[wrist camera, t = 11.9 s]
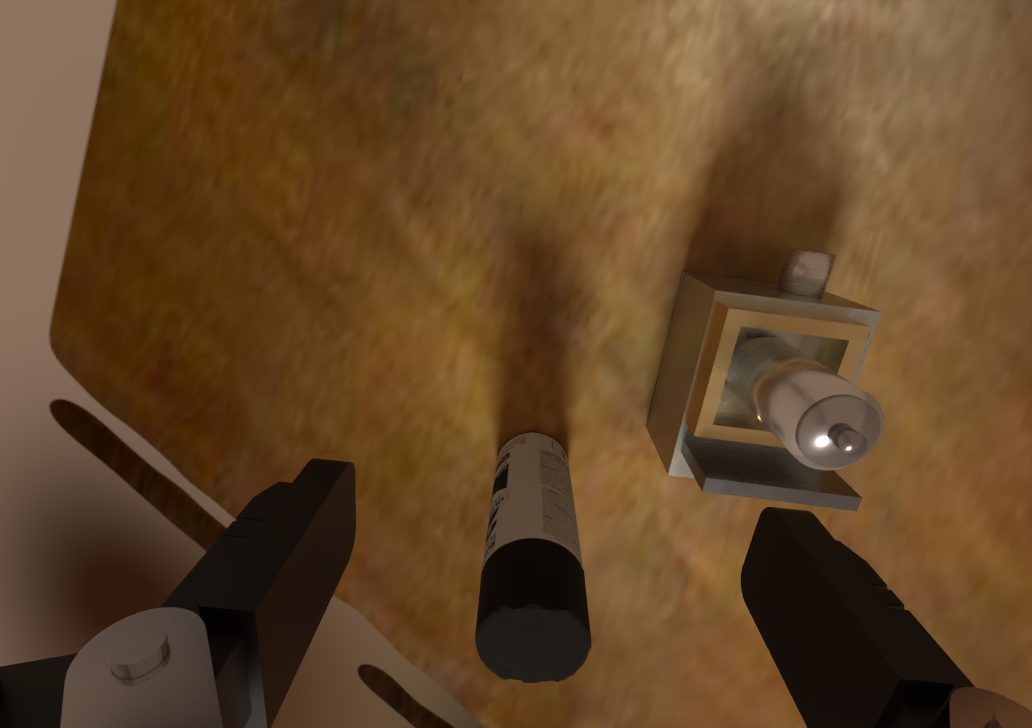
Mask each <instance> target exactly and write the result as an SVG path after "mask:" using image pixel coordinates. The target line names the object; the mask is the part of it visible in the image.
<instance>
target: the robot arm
mask: <svg viewBox="0 0 1032 728" xmlns="http://www.w3.org/2000/svg"><path fill="white" fill-rule="evenodd" d="M355 532H356V499H355V467H354V464H353V463H352V462H344V461H334V460H325V459H315V458H313V459H311V460H310V461H309V462H308V463H307V465H306V466H305V467H304V468H303V470H302V471H301V472H300V474H299V475H298V476H297V478H296V479H295V480H294V482H293V483H287V482H278V483H276V484H274V485H273V486H271V487H270V488H268V489H266V490H265V491H263V492H261V493H260V494H258V495H257V496H255V497H253V499H252V500H251V501H250V502H249V503H248V505H247V506H246V507H245V508H244V509H243V510H242V512H241V513H240V514H239V515H238V516H237V519H236V521H233V522H232V523H231V524H230V526H229V527H228V528H227V529H226V530H225V531H224V533H223V534H222V538H221V539H218V540H217V541H216V542H215V543H214V544H213V546H212V547H211V548H210V549H209V550H208V551H207V553H206V554H205V555H204V556H203V557H202V558H201V560H200V561H199V562H198V563H197V564H196V566H195V567H194V568H193V569H192V570H191V571H190V573H189V574H188V575H187V576H186V577H185V578H184V580H183V581H182V582H181V583H180V584H179V585H178V587H177V588H176V589H175V590H174V592H172V594H171V595H170V596H169V597H168V598H167V599H166V601H165V602H164V603H163V604H162V605H161V607H160V608H156V609H151V610H147V611H143V612H140V613H137V614H135V615H132V616H129V617H127V618H125V619H122V620H120V621H118V622H117V623H115V624H113V625H111V626H110V627H108V628H107V629H105V630H103V631H102V632H101V633H99V634H98V635H96V636H95V637H94V638H93V639H92V640H91V641H90V642H88V643H87V644H86V645H85V646H84V647H83V648H82V649H81V651H80V652H79V653H76V654H71V655H67V656H60V657H55V658H49V659H43V660H37V661H31V662H26V663H19V664H14V665H8V666H2V667H0V728H271V726H272V724H273V722H274V720H275V718H276V715H277V713H278V711H279V709H280V707H281V705H282V703H283V700H284V698H285V696H286V694H287V692H288V690H289V688H290V685H291V683H292V681H293V679H294V677H295V675H296V673H297V670H298V668H299V666H300V664H301V662H302V660H303V657H304V656H305V653H306V651H307V649H308V647H309V645H310V643H311V641H312V638H313V636H314V634H315V632H316V630H317V628H318V626H319V623H320V621H321V619H322V617H323V615H324V613H325V611H326V608H327V606H328V604H329V602H330V599H331V598H332V596H333V594H334V591H335V589H336V587H337V585H338V583H339V581H340V579H341V576H342V574H343V572H344V570H345V568H346V566H347V564H348V561H349V559H350V556H351V553H352V549H353V545H354V540H355ZM741 589H742V594H743V598H744V601H745V603H746V606H747V608H748V610H749V612H750V614H751V616H752V618H753V620H754V622H755V624H756V626H757V628H758V630H759V632H760V634H761V636H762V638H763V640H764V642H765V644H766V646H767V648H768V650H769V652H770V654H771V656H772V658H773V660H774V662H775V664H776V666H777V668H778V670H779V672H780V674H781V676H782V678H783V680H784V682H785V684H786V686H787V688H788V690H789V692H790V694H791V696H792V698H793V700H794V702H795V704H796V706H797V708H798V710H799V712H800V714H801V716H802V718H803V720H804V722H805V724H806V726H807V728H1032V711H1030V710H1029V709H1027V708H1026V707H1024V706H1022V705H1020V704H1019V703H1017V702H1015V701H1013V700H1011V699H1009V698H1007V697H1005V696H1002V695H1000V694H997V693H995V692H992V691H989V690H985V689H981V688H976V687H975V686H974V685H973V684H972V683H971V682H970V681H969V679H968V678H967V677H966V676H965V675H964V674H963V672H962V671H961V670H960V669H959V668H958V667H957V665H956V664H955V663H954V662H953V661H952V660H951V659H950V657H949V656H948V655H947V654H946V653H945V652H944V650H943V649H942V648H941V647H940V646H939V645H938V644H937V642H936V641H935V640H934V639H933V638H932V637H931V635H930V634H929V633H928V632H927V631H926V630H925V629H924V627H923V626H922V625H921V624H920V623H919V622H918V620H917V619H916V618H915V617H914V616H913V615H912V614H911V612H910V611H909V610H905V609H904V604H903V603H902V602H901V601H900V600H899V598H898V597H897V596H896V595H895V594H894V593H893V592H892V590H888V589H887V585H886V583H885V582H884V581H883V580H882V579H881V578H880V577H879V575H878V574H877V573H876V572H875V571H874V570H873V568H872V567H871V566H870V565H869V564H868V563H867V562H866V561H865V560H864V559H862V558H861V557H860V556H858V555H857V554H856V553H854V552H853V551H852V550H850V549H849V548H848V547H846V546H845V545H844V544H842V543H841V542H840V541H836V540H835V539H834V538H833V537H832V536H831V534H830V533H829V532H828V531H827V530H826V528H825V527H824V526H823V525H822V524H821V522H820V521H819V520H818V519H817V518H816V516H815V515H814V514H813V513H811V512H809V511H804V510H795V509H785V508H775V507H767V508H765V509H764V510H763V511H762V513H761V514H760V517H759V519H758V522H757V525H756V528H755V531H754V534H753V537H752V540H751V543H750V546H749V549H748V552H747V555H746V558H745V561H744V564H743V567H742V572H741Z"/></svg>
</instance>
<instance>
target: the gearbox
mask: <svg viewBox="0 0 1032 728" xmlns="http://www.w3.org/2000/svg"><path fill="white" fill-rule="evenodd" d="M835 258H836V255H834V254H830V253H824V252H818V251H812V250H805V249H797V248H789V251H788V254H787V257H786V261H785V264H784V267H783V271H782V274H781V277H780V281H779V284H777V283H770V282H762V281H754V280H747V279H739V278H731V277H724V276H716V275H708V274H701V273H693V272H685V271H682V275H681V279H680V284H679V288H678V292H677V296H676V301H675V305H674V309H673V313H672V318H671V322H670V326H669V331H668V335H667V339H666V343H665V348H664V352H663V356H662V360H661V365H660V369H659V373H658V378H657V382H656V386H655V390H654V395H653V399H652V403H651V407H650V412H649V416H648V420H647V425H646V428H647V430H648V432H649V434H650V437H651V439H652V441H653V443H654V445H655V448H656V450H657V452H658V454H659V456H660V459H661V461H662V463H663V465H664V467H665V469H666V472H667V474H668V475H672V476H680V477H687V478H695V479H696V481H697V483H698V485H699V487H700V488H701V490H702V491H704V492H711V493H719V494H727V495H735V496H743V497H750V498H758V499H766V500H774V501H782V502H790V503H797V504H805V505H813V506H821V507H829V508H836V509H844V510H852V511H857V509H858V507H859V504H860V502H861V500H862V497H861V496H860V495H859V494H858V493H857V492H856V491H854V490H853V489H852V488H851V487H850V486H849V485H848V484H847V483H846V482H845V481H844V480H843V479H842V478H841V477H840V476H839V475H838V474H837V473H836V472H835V471H834V470H818V469H813V468H810V467H808V466H806V465H804V464H802V463H801V462H799V461H798V460H797V459H796V458H795V457H794V456H793V455H792V454H791V453H790V452H789V451H788V450H787V448H786V447H785V446H784V445H783V444H782V443H781V442H780V441H779V440H778V439H777V438H776V437H775V436H774V435H773V434H772V433H771V432H770V431H769V430H768V429H767V428H766V426H765V425H764V424H763V423H762V422H761V421H760V420H759V419H758V418H757V417H756V416H755V415H754V414H753V413H752V412H751V411H750V410H749V409H748V408H747V407H746V405H745V404H744V403H743V402H742V401H741V400H740V399H739V398H738V397H737V396H736V395H735V394H734V393H733V392H732V390H731V389H730V387H729V385H728V383H727V379H726V376H727V373H728V369H729V365H730V362H731V358H732V355H733V353H734V352H735V351H736V350H737V349H738V348H739V347H740V346H742V345H743V344H744V343H746V342H748V341H750V340H752V339H755V338H759V337H775V338H779V339H781V340H783V341H785V342H787V343H788V344H790V345H792V346H793V347H795V348H797V349H798V350H800V351H801V352H803V353H805V354H806V355H808V356H809V357H811V358H813V359H814V360H816V361H817V362H819V363H821V364H822V365H824V366H825V367H827V368H829V369H830V370H832V371H833V372H835V373H837V374H838V375H840V376H841V377H843V378H845V379H846V380H848V381H849V382H851V383H853V384H854V385H855V383H856V381H857V378H858V375H859V373H860V370H861V367H862V365H863V362H864V359H865V357H866V354H867V351H868V349H869V346H870V344H871V341H872V338H873V336H874V333H875V330H876V328H877V325H878V322H879V320H880V317H881V314H882V312H881V311H878V310H875V309H872V308H870V307H867V306H864V305H861V304H858V303H856V302H853V301H850V300H847V299H845V298H842V297H839V296H836V295H834V294H831V293H828V292H825V288H826V285H827V282H828V279H829V276H830V273H831V270H832V267H833V264H834V261H835Z"/></svg>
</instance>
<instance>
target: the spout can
mask: <svg viewBox="0 0 1032 728" xmlns="http://www.w3.org/2000/svg"><path fill="white" fill-rule="evenodd" d="M726 379H727V383H728V385H729V387H730V389H731V390H732V392H733V393H734V394H735V395H736V396H737V397H738V398H739V399H740V400H741V401H742V402H743V403H744V404H745V405H746V407H747V408H748V409H749V410H750V411H751V412H752V413H753V414H754V415H755V416H756V417H757V418H758V419H759V420H760V421H761V422H762V423H763V424H764V425H765V426H766V428H767V429H768V430H769V431H770V432H771V433H772V434H773V435H774V436H775V437H776V438H777V439H778V440H779V441H780V442H781V443H782V444H783V445H784V446H785V447H786V448H787V450H788V451H789V452H790V453H791V454H792V455H793V456H794V457H795V458H796V459H797V460H798V461H799V462H801V463H802V464H804V465H806V466H808V467H810V468H813V469H818V470H836V469H841V468H845V467H847V466H850V465H852V464H854V463H856V462H858V461H859V460H861V459H863V458H864V457H865V456H866V455H867V454H868V453H870V452H871V451H872V449H873V448H874V447H875V446H876V444H877V442H878V441H879V439H880V437H881V434H882V431H883V426H884V416H883V411H882V408H881V407H880V405H879V403H878V402H877V400H876V399H875V398H874V397H873V396H871V395H870V394H869V393H867V392H865V391H864V390H862V389H861V388H859V387H857V386H856V385H854V384H853V383H851V382H849V381H848V380H846V379H845V378H843V377H841V376H840V375H838V374H837V373H835V372H833V371H832V370H830V369H829V368H827V367H825V366H824V365H822V364H821V363H819V362H817V361H816V360H814V359H813V358H811V357H809V356H808V355H806V354H805V353H803V352H801V351H800V350H798V349H797V348H795V347H793V346H792V345H790V344H788V343H787V342H785V341H783V340H781V339H779V338H775V337H759V338H755V339H752V340H750V341H748V342H746V343H744V344H743V345H742V346H740V347H739V348H738V349H737V350H736V351H735V352H734V353H733V355H732V358H731V362H730V365H729V369H728V373H727V376H726Z"/></svg>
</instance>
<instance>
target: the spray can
mask: <svg viewBox="0 0 1032 728" xmlns="http://www.w3.org/2000/svg"><path fill="white" fill-rule="evenodd" d="M475 642H476V647H477V651H478V654H479V656H480V658H481V660H482V661H483V663H484V664H485V666H486V667H487V668H488V669H490V670H491V671H492V672H493V673H495V674H496V675H497V676H498V677H500V678H502V679H505V680H506V679H514V680H521V681H523V682H524V683H538V682H543V681H556V682H559V681H561V680H565V679H566V678H568V677H570V676H572V675H574V674H575V673H576V671H577V670H578V669H579V668H580V667H581V666H582V665H583V663H584V662H585V660H586V658H587V656H588V653H589V650H590V648H591V633H590V625H589V615H588V607H587V596H586V588H585V577H584V570H583V566H582V559H581V551H580V544H579V536H578V528H577V522H576V514H575V507H574V500H573V492H572V485H571V478H570V471H569V463H568V458H567V455H566V453H565V451H564V449H563V448H562V447H561V445H560V444H559V442H557V441H556V440H554V439H552V438H551V437H549V436H547V435H544V434H540V433H535V432H530V433H524V434H521V435H518V436H516V437H514V438H512V439H511V440H509V441H508V442H507V443H506V444H505V445H504V447H503V448H502V449H501V451H500V453H499V455H498V458H497V463H496V470H495V478H494V486H493V493H492V501H491V509H490V517H489V524H488V531H487V539H486V546H485V554H484V561H483V567H482V574H481V584H480V595H479V605H478V615H477V625H476V634H475Z"/></svg>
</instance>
